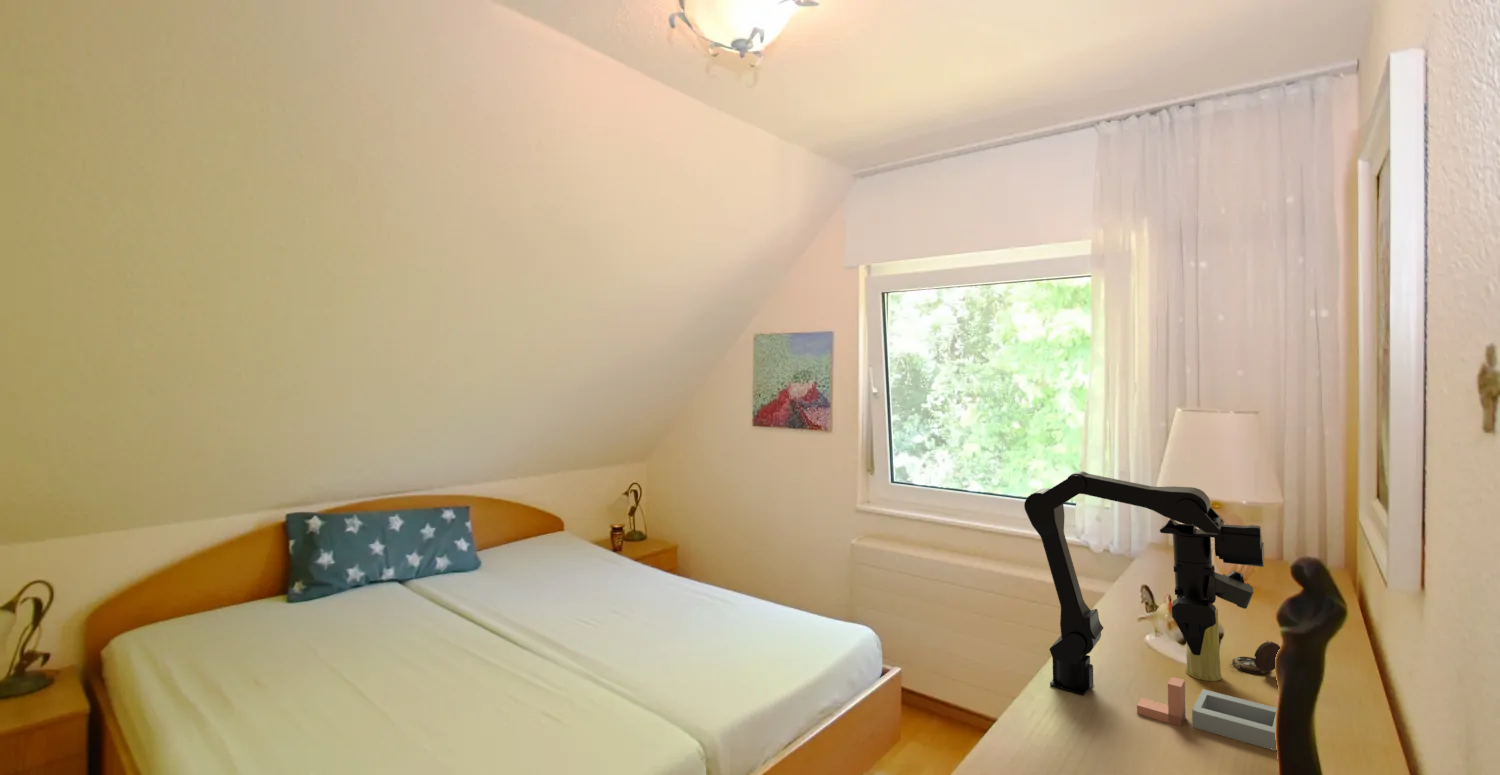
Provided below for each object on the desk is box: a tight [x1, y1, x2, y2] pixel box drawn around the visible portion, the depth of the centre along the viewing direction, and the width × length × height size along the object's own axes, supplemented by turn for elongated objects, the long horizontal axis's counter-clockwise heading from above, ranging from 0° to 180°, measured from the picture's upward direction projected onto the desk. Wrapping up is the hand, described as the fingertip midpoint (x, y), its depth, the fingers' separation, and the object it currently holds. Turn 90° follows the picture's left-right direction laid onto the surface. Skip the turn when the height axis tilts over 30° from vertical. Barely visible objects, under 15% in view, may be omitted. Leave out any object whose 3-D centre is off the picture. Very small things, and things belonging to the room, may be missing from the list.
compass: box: [1228, 639, 1281, 675], centre depth 138 cm, size 8×8×7 cm
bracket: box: [1136, 676, 1187, 727], centre depth 122 cm, size 7×4×7 cm, turn 47°
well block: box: [1191, 688, 1278, 752], centre depth 117 cm, size 12×10×3 cm
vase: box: [1185, 605, 1223, 682], centre depth 136 cm, size 6×6×14 cm
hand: (1197, 645), depth 120 cm, fingers open, 9 cm apart
